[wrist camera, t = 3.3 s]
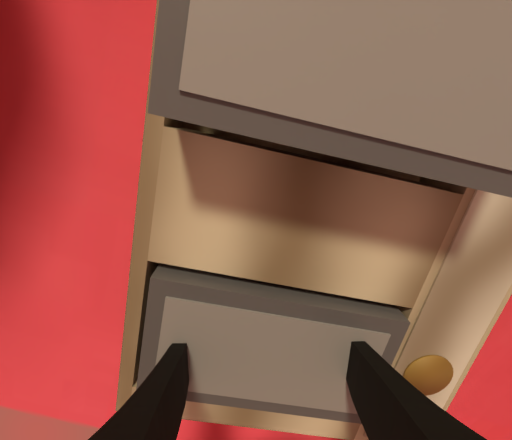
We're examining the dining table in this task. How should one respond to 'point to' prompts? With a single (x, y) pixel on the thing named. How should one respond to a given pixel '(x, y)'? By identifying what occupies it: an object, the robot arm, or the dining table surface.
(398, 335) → the brown block
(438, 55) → the key grey
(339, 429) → the switch panel
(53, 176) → the dining table surface
